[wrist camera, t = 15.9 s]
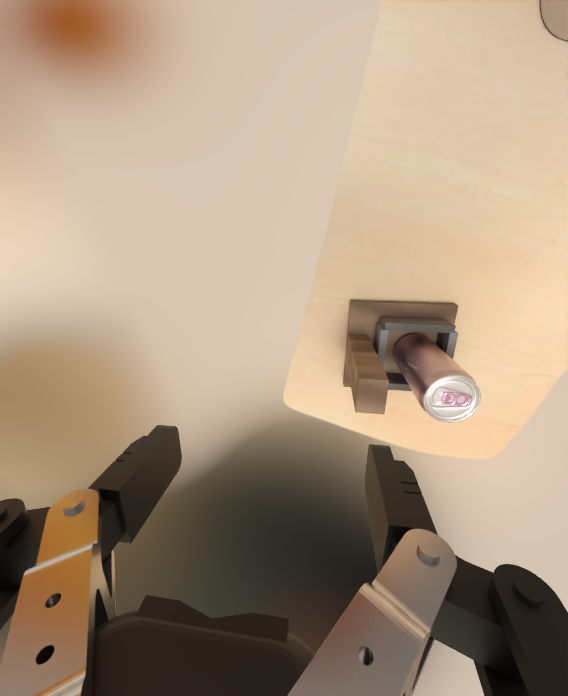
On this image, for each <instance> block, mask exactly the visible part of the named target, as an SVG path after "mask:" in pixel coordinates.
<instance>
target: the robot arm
mask: <svg viewBox="0 0 568 696" xmlns="http://www.w3.org/2000/svg"><path fill="white" fill-rule="evenodd" d="M541 12H542V17H543V20H544V23H545V25H546V26H547V28H548V29H549V31H550V32H551V33H552V34H554V35H555V36H557V37H558V38H561V39H564V40H568V0H541ZM181 459H182V455H181V447H180V440H179V433H178V428H177V427H176V426H164V425H157V426H156V427H155V428H154V429H153V430H152V431H151V432H150V433H149V435H148V436H143V437H141V438H140V439H138V440H136V441H135V442H133V443H132V444H131V445H130V446H129V447H128V448H127V449H126V450H125V451H124V452H123V454H121V455H120V456H119V457H118V458H117V459H116V461H114V462H113V463H112V464H111V465H110V466H109V467H108V468H107V469H106V470H105V471H104V472H103V473H102V474H101V475H100V476H99V478H97V480H96V481H95V482H94V483H93V484H92V485H91V486H90V487H89V488H88V489H80V490H77V491H73V492H71V493H69V494H67V495H65V496H63V497H62V498H60V499H59V500H58V501H56V502H55V503H54V504H53V505H52V506H51V507H46V508H40V509H33V510H26V507H25V505H24V502H23V501H22V500H20V499H7V500H3V501H0V629H1V628H2V627H3V626H4V624H5V623H6V622H7V621H8V619H9V618H10V617H11V616H12V614H13V613H14V615H13V619H12V623H11V627H10V631H9V635H8V638H7V643H6V646H5V650H4V655H3V659H2V662H1V667H0V696H412V695H413V693H414V690H415V688H416V685H417V682H418V680H419V677H420V675H421V673H422V670H423V668H424V666H425V663H426V661H427V658H428V656H429V653H430V651H431V648H432V646H433V643H434V641H435V639H436V640H437V641H439V642H441V643H443V644H445V645H447V646H449V647H450V648H452V649H454V650H456V651H458V652H460V653H462V654H464V655H466V656H467V657H469V658H471V659H473V660H474V663H475V666H476V670H477V673H478V676H479V679H480V682H481V686H482V689H483V692H484V696H568V612H567V611H566V609H565V607H564V606H563V604H562V602H561V601H560V599H559V598H558V596H557V595H556V593H555V592H554V591H553V590H552V589H551V588H550V587H549V586H548V585H547V584H546V583H545V582H544V581H543V580H542V579H541V578H539V577H538V576H536V575H535V574H533V573H532V572H530V571H528V570H526V569H524V568H522V567H519V566H516V565H511V564H503V565H500V566H498V567H497V568H496V569H495V571H494V573H493V572H490V571H488V570H485V569H483V568H480V567H478V566H476V565H473V564H471V563H469V562H466V561H464V560H463V559H461V558H459V557H458V556H456V555H455V554H454V552H453V550H452V549H451V547H450V546H449V545H448V544H447V542H445V541H444V540H443V539H442V538H441V537H439V536H438V534H437V532H436V530H435V527H434V524H433V522H432V519H431V516H430V514H429V511H428V509H427V506H426V503H425V501H424V498H423V496H422V493H421V490H420V488H419V486H418V482H417V480H416V477H415V474H414V472H413V471H412V469H411V468H410V467H409V466H408V465H407V464H406V463H405V462H404V461H397V460H394V458H393V455H392V452H391V449H390V447H389V446H383V445H372V444H370V445H369V448H368V456H367V464H366V472H365V493H366V500H367V506H368V512H369V518H370V525H371V531H372V538H373V543H374V549H375V557H376V563H377V569H378V576H377V577H376V579H375V580H374V581H373V583H372V584H370V583H368V582H367V583H365V584H364V585H363V586H362V588H361V589H360V590H359V591H358V593H357V594H356V596H355V597H354V599H353V600H352V602H351V603H350V605H349V606H348V608H347V609H346V610H345V612H344V614H343V615H342V616H341V618H340V619H339V621H338V622H337V624H336V625H335V627H334V628H333V629H332V631H331V633H330V634H329V636H328V637H327V639H326V640H325V641H324V643H323V644H322V646H321V647H320V649H319V650H318V652H317V653H316V654H314V652H313V651H312V650H311V649H310V648H309V647H308V646H307V645H306V644H304V643H303V642H302V641H301V640H299V639H298V638H297V637H295V636H293V635H291V634H290V633H289V619H287V618H281V617H275V616H269V615H263V614H257V613H247V614H241V615H234V616H226V617H219V618H210V617H208V616H206V615H204V614H202V613H201V612H199V611H197V610H195V609H193V608H192V607H190V606H188V605H186V604H185V603H183V602H181V601H178V600H173V599H167V598H161V597H155V596H149V595H146V596H145V598H144V600H143V602H142V604H141V606H140V608H139V609H136V610H133V611H129V612H126V613H123V614H121V615H118V616H116V608H115V574H114V573H115V572H114V552H113V549H114V547H115V546H116V544H117V543H118V542H125V543H132V541H133V539H134V538H135V537H136V535H137V534H138V532H139V531H140V529H141V527H142V526H143V524H144V522H145V521H146V519H147V518H148V517H149V515H150V514H151V512H152V510H153V509H154V507H155V506H156V504H157V503H158V501H159V500H160V498H161V497H162V495H163V494H164V492H165V491H166V489H167V487H168V486H169V484H170V483H171V481H172V480H173V478H174V476H175V475H176V474H177V472H178V470H179V468H180V465H181Z"/></svg>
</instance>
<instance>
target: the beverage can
mask: <svg viewBox="0 0 568 696" xmlns="http://www.w3.org/2000/svg"><path fill="white" fill-rule="evenodd" d="M393 357H394V360H395V362H396V364H397V366H398V367H399V369H400V371H401V373H402V374H403V376H404V378H405V379H406V381H407V383H408V384H409V386H410V388H411V390H412V391H413V393H414V395H415V396H416V398H417V400H418V401H419V403H420V405H421V406H422V408H423V409H424V410H425V411H426V412H427V413H428V414H429V415H430V416H431V417H433V418H434V419H436V420H438V421H442V422H457V421H461V420H463V419H465V418H467V417H469V416H470V415H471V414H473V413H474V412H475V410H476V409H477V408H478V406H479V403H480V399H481V394H480V390H479V388H478V386H477V385H476V382H475V381H474V379H473V378H472V377H471V376H470V375H469V374H468V373H467V372H466V371H464V370H463V369H462V368H461V367H460V366H459V365H458V364H457V363H456V362H455V361H454V360H452V359H451V358H450V357H449V356H448V355H447V354H446V353H445V352H444V351H443V350H442V349H440V348H439V347H438V346H437V345H436V344H435V343H434V342H433V341H432V340H431V339H429V338H428V337H427V336H425V335H422V334H410V335H407V336H405V337H403V338H401V339H400V340H399V341H398V342H397V344H396V345H395V347H394V351H393Z"/></svg>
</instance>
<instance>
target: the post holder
mask: <svg viewBox="0 0 568 696" xmlns="http://www.w3.org/2000/svg"><path fill="white" fill-rule="evenodd" d="M457 309H458V305H456V304H454V303H423V302H391V301H358V300H350V308H349V320H348V332H347V344H346V356H345V368H344V381H343V384H344V387H351V389H352V395H353V400H354V406H355V412H360V413H373V414H384V412H385V405H386V398H387V391H388V390H403V391H412V390H411V388H410V386H409V384H408V383H407V381H406V379H405V378H404V376H403V374H402V373H401V371H400V369H399V367H398V366H397V364H396V362H395V360H394V357H393V351H394V347H395V345H396V344H397V342H398V341H399V340H400V339H401V338H403V337H405V336H407V335H410V334H422V335H425V336H427V337H428V338H429V339H431V340H432V341H433V342H434V343H435V344H436V345H437V346H438V347H439V348H440V349H442V350H443V351H444V352H445V353H446V354H447V355H448V356H449V357H450V358H451V359H452V360H453V355H454V350H455V346H456V341H457V336H458V333H457V332H456V331H455V327H456V326H455V325H454V323H455V318H456V313H457Z"/></svg>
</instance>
